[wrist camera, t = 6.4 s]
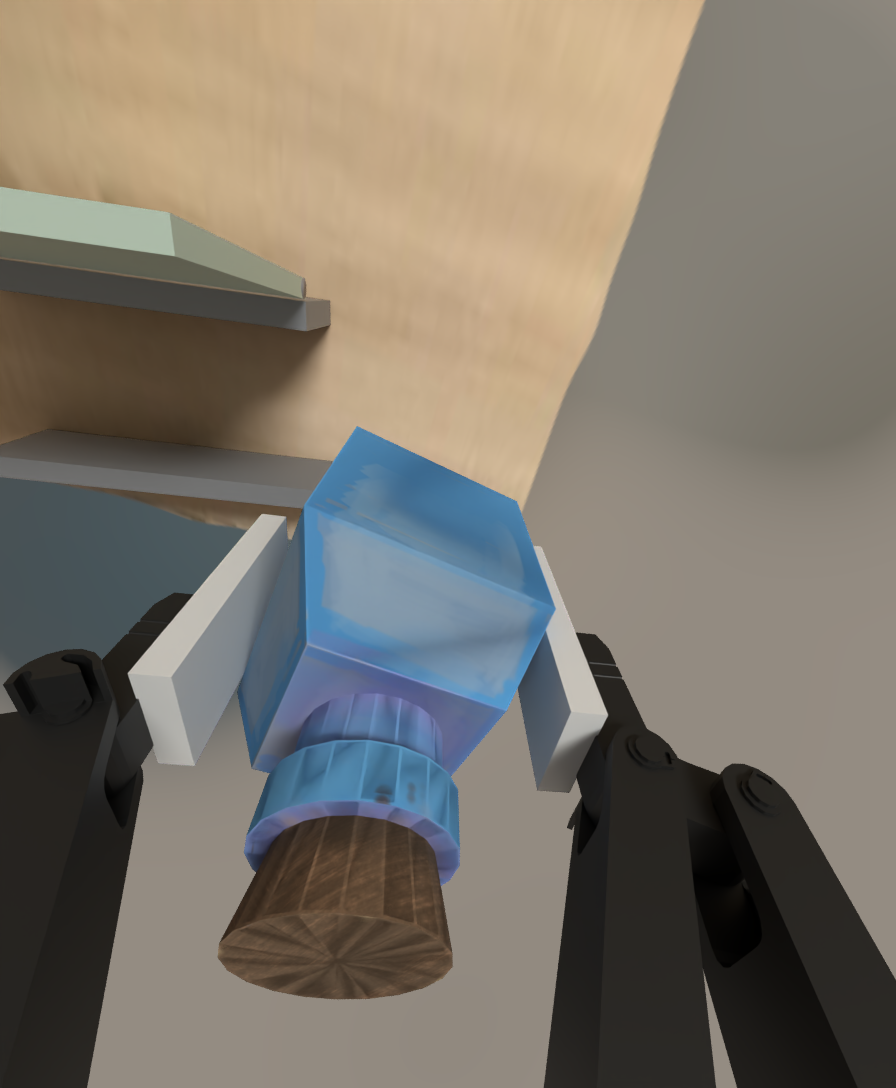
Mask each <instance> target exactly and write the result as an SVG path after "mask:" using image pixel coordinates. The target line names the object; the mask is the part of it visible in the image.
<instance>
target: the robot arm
mask: <svg viewBox="0 0 896 1088" xmlns="http://www.w3.org/2000/svg"><path fill="white" fill-rule="evenodd" d="M533 547H534V550H535V553H536V555H537V558H538V561H539V564H540V566H541V569H542V572H543V575H544V577H545V580H546V583H547V585H548V588H549V591H550V594H551V596H552V599H553V602H554V605H555V607H556V610H555V612H554V614H553V616H552V618H551V620H550V622H549V624H548V627H547V629H546V631H545V633H544V635H543V637H542V639H541V641H540V643H539V645H538V647H537V649H536V651H535V653H534V655H533V657H532V659H531V661H530V663H529V666H528V668H527V670H526V672H525V674H524V676H523V678H522V680H521V682H520V684H519V686H518V692H519V698H520V703H521V708H522V713H523V718H524V724H525V729H526V734H527V739H528V744H529V750H530V755H531V760H532V765H533V771H534V776H535V781H536V786H537V790H539V791H552V792H566V793H569V792H570V790H571V788H572V786H573V784H574V782H575V780H576V778H577V781H578V784H579V788H580V792H581V795H582V797H581V799H580V801H579V803H578V805H577V807H576V808H575V811H574V812H573V814H572V816H571V818H570V821H569V823H568V826H567V828H569V829H571V830H572V828H573V826H574V825H575V826H574V835H573V843H572V852H571V860H570V869H569V877H568V886H567V895H566V903H565V911H564V921H563V929H562V938H561V946H560V955H559V963H558V971H557V980H556V988H555V997H554V1006H553V1014H552V1022H551V1031H550V1039H549V1048H548V1057H547V1065H546V1075H545V1082H544V1088H716V1084H715V1075H714V1066H713V1057H712V1047H711V1039H710V1029H709V1020H708V1011H707V1002H706V993H705V984H704V974H705V977H706V981H707V984H708V988H709V991H710V995H711V998H712V1002H713V1005H714V1008H715V1012H716V1015H717V1019H718V1022H719V1026H720V1029H721V1033H722V1036H723V1040H724V1043H725V1047H726V1050H727V1054H728V1057H729V1060H730V1064H731V1068H732V1071H733V1074H734V1078H735V1081H736V1085H737V1088H896V980H895V978H894V976H893V975H892V973H891V971H890V969H889V967H888V966H887V964H886V962H885V960H884V959H883V957H882V955H881V953H880V951H879V950H878V948H877V946H876V944H875V943H874V941H873V939H872V937H871V936H870V934H869V932H868V931H867V929H866V927H865V925H864V924H863V922H862V920H861V919H860V916H859V915H858V913H857V911H856V909H855V908H854V906H853V904H852V902H851V901H850V899H849V897H848V895H847V894H846V892H845V890H844V888H843V887H842V885H841V883H840V881H839V880H838V878H837V876H836V874H835V873H834V871H833V869H832V867H831V866H830V864H829V862H828V861H827V859H826V857H825V855H824V853H823V852H822V850H821V848H820V846H819V845H818V843H817V841H816V839H815V838H814V836H813V834H812V833H811V831H810V829H809V827H808V825H807V824H806V822H805V820H804V819H803V817H802V815H801V813H800V811H799V810H798V808H797V806H796V804H795V803H794V801H793V800H792V799H791V797H790V796H789V795H788V793H787V792H786V791H785V789H783V788H782V787H781V786H780V785H779V784H778V783H777V782H776V781H775V780H773V779H772V778H771V777H770V776H768V775H766V774H765V773H763V772H762V771H760V770H758V769H756V768H754V767H751V766H748V765H745V764H731V765H729V766H727V767H726V768H725V769H724V770H723V771H722V772H721V774H720V775H719V774H717V773H714V772H711V771H709V770H706V769H703V768H701V767H698V766H695V765H693V764H690V763H687V762H685V761H683V760H681V759H679V758H677V756H676V754H675V753H674V751H673V750H672V748H671V747H670V745H669V744H668V743H666V742H665V741H664V740H663V739H662V738H661V737H660V736H658V735H657V734H655V733H653V732H651V731H649V730H648V729H647V728H646V726H645V724H644V722H643V720H642V718H641V716H640V714H639V711H638V709H637V707H636V705H635V703H634V701H633V699H632V697H631V695H630V692H629V690H628V688H627V686H626V684H625V682H624V680H622V676H621V673H620V671H619V669H618V667H616V663H615V661H614V659H613V657H612V654H611V652H610V650H609V648H607V646H606V645H605V644H604V643H603V642H602V641H601V640H600V639H599V638H598V637H597V636H596V635H595V634H585V633H575V630H574V628H573V626H572V623H571V620H570V618H569V616H568V613H567V610H566V608H565V605H564V603H563V600H562V598H561V595H560V593H559V590H558V587H557V585H556V583H555V580H554V578H553V575H552V572H551V570H550V567H549V565H548V562H547V560H546V557H545V555H544V552H543V550H542V547H537V546H533ZM287 552H288V538H287V520H286V517H285V516H276V515H268V514H261V515H260V517H259V518H258V519H257V520H256V521H255V522H254V524H253V525H252V526H251V527H250V528H249V530H248V531H247V532H246V533H245V534H244V536H243V537H242V538H241V539H240V540H239V542H238V543H237V544H236V545H235V547H233V549H232V550H231V551H230V552H229V554H228V555H227V556H226V557H225V558H224V559H223V561H222V562H221V563H220V564H219V565H218V566H217V568H216V569H215V570H214V571H213V572H212V574H211V575H210V576H209V577H208V578H207V580H206V581H205V582H204V583H203V584H202V586H201V587H200V588H199V589H198V590H197V591H196V593H195V594H194V595H193V594H183V593H173V594H171V595H170V596H168V597H166V598H164V599H163V600H161V601H159V602H158V603H156V604H154V605H153V606H152V607H151V609H149V611H148V612H147V613H146V614H145V615H144V616H143V617H142V618H141V621H140V622H137V623H136V624H135V625H134V626H133V628H132V629H131V630H130V631H129V634H126V635H125V636H124V637H123V638H122V639H121V640H120V642H118V643H117V644H116V646H115V647H114V648H113V649H112V650H111V651H110V652H109V653H108V654H107V655H106V656H105V657H104V658H103V660H101V658H99V656H98V655H97V654H96V653H94V652H91V651H87V650H83V649H73V650H63V651H59V652H54V653H50V654H47V655H44V656H42V657H40V658H37V659H35V660H33V661H31V662H29V663H27V664H25V665H24V666H23V667H21V668H20V669H18V670H17V671H15V672H14V673H13V674H12V675H11V676H10V677H9V678H8V679H7V681H6V682H5V683H4V684H3V686H4V687H5V689H6V691H7V693H8V695H9V696H10V698H11V700H12V701H13V704H14V705H15V707H16V709H17V712H11V713H5V714H0V1088H87V1085H88V1079H89V1074H90V1067H91V1062H92V1057H93V1052H94V1047H95V1041H96V1035H97V1029H98V1025H99V1019H100V1014H101V1008H102V1002H103V998H104V992H105V987H106V981H107V976H108V970H109V965H110V959H111V954H112V948H113V943H114V937H115V931H116V927H117V921H118V916H119V910H120V905H121V899H122V894H123V889H124V883H125V877H126V871H127V867H128V861H129V855H130V850H131V845H132V839H133V833H134V829H135V823H136V817H137V812H138V807H139V801H140V796H141V790H142V785H143V770H142V768H141V764H142V763H143V761H144V759H145V758H146V757H147V755H148V753H149V752H150V750H151V749H152V747H153V750H154V753H155V756H156V759H157V762H158V763H159V764H173V765H187V766H195V765H196V763H197V761H198V759H199V757H200V755H201V753H202V751H203V750H204V748H205V746H206V744H207V742H208V740H209V738H210V736H211V734H212V733H213V731H214V729H215V727H216V725H217V723H218V721H219V719H220V717H221V716H222V714H223V712H224V710H225V708H226V706H227V704H228V702H229V701H230V699H231V697H232V695H233V693H234V691H235V689H236V687H237V685H238V683H239V682H240V680H241V678H242V676H243V674H244V672H245V669H246V666H247V663H248V660H249V658H250V655H251V652H252V649H253V646H254V644H255V641H256V638H257V635H258V632H259V630H260V627H261V624H262V621H263V619H264V616H265V613H266V610H267V607H268V605H269V602H270V599H271V596H272V593H273V591H274V588H275V585H276V582H277V580H278V577H279V574H280V571H281V568H282V566H283V563H284V560H285V557H286V554H287ZM703 970H704V974H703Z"/></svg>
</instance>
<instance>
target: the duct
mask: <svg viewBox="0 0 896 1088" xmlns="http://www.w3.org/2000/svg"><path fill="white" fill-rule="evenodd" d="M0 290H4V291H11V292H19V293H26V294H34V295H41V296H49V297H56V298H63V299H71V300H78V301H86V302H93V303H101V304H108V305H115V306H123V307H130V308H138V309H145V310H153V311H160V312H168V313H175V314H182V315H190V316H197V317H205V318H212V319H220V320H227V321H234V322H242V323H249V324H257V325H264V326H272V327H279V328H287V329H294V330H301V331H310V330H313V329H317V328H321V327H325V326H329V325H330V300H323V299H315V298H308V297H305V299H299V298H291V297H284V296H277V295H270V294H263V293H256V292H249V291H241V290H234V289H227V288H220V287H213V286H206V285H198V284H191V283H184V282H177V281H170V280H163V279H156V278H148V277H141V276H134V275H127V274H120V273H113V272H105V271H98V270H91V269H84V268H77V267H70V266H63V265H55V264H48V263H41V262H34V261H27V260H20V259H12V258H5V257H0ZM331 464H332V461H325V460H316V459H307V458H298V457H290V456H281V455H272V454H263V453H254V452H245V451H236V450H228V449H219V448H210V447H201V446H192V445H183V444H174V443H166V442H157V441H148V440H139V439H130V438H121V437H112V436H103V435H95V434H86V433H77V432H68V431H59V430H50V429H47V430H44V431H41V432H38V433H35V434H32V435H29V436H26V437H23V438H20V439H17V440H14V441H11V442H8V443H5V444H2V445H0V477H6V478H15V479H25V480H34V481H43V482H53V483H63V484H72V485H82V486H91V487H101V488H111V489H120V490H130V491H139V492H149V493H159V494H168V495H178V496H187V497H197V498H206V499H216V500H226V501H235V502H245V503H254V504H264V505H274V506H283V507H293V508H302V509H303V507H304V505H305V503H306V502H307V500H308V499H309V497H310V496H311V494H312V493H313V491H314V490H315V488H316V487H317V485H318V484H319V482H320V481H321V479H322V478H323V476H324V475H325V473H326V472H327V470H328V469H329V467H330V466H331Z"/></svg>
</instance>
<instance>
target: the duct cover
mask: <svg viewBox="0 0 896 1088" xmlns="http://www.w3.org/2000/svg"><path fill="white" fill-rule="evenodd" d="M0 257H5V258H12V259H20V260H27V261H34V262H41V263H48V264H55V265H63V266H70V267H77V268H84V269H91V270H98V271H105V272H113V273H120V274H127V275H134V276H141V277H148V278H156V279H163V280H170V281H177V282H184V283H191V284H198V285H206V286H213V287H220V288H227V289H234V290H241V291H249V292H256V293H263V294H270V295H277V296H284V297H291V298H299V299H305V297H306V282H305V278H303V277H301V276H299V275H297V274H295V273H293V272H290V271H288V270H286V269H284V268H282V267H280V266H278V265H276V264H274V263H272V262H270V261H268V260H266V259H264V258H262V257H260V256H258V255H256V254H254V253H251V252H249V251H247V250H245V249H243V248H241V247H239V246H237V245H235V244H233V243H231V242H229V241H227V240H225V239H223V238H221V237H219V236H217V235H215V234H213V233H210V232H208V231H206V230H204V229H202V228H200V227H198V226H196V225H194V224H192V223H190V222H188V221H186V220H184V219H182V218H180V217H178V216H176V215H174V214H171V213H169V212H163V211H156V210H150V209H143V208H136V207H130V206H123V205H117V204H110V203H103V202H97V201H90V200H83V199H77V198H70V197H64V196H57V195H50V194H44V193H37V192H30V191H24V190H17V189H11V188H4V187H0Z"/></svg>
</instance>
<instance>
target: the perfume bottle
mask: <svg viewBox="0 0 896 1088" xmlns="http://www.w3.org/2000/svg"><path fill="white" fill-rule="evenodd" d="M555 610H556V607H555V605H554V602H553V599H552V596H551V594H550V591H549V588H548V585H547V583H546V580H545V577H544V575H543V572H542V569H541V566H540V564H539V561H538V558H537V555H536V553H535V550H534V547H533V544H532V542H531V539H530V536H529V533H528V531H527V528H526V525H525V522H524V520H523V517H522V514H521V511H520V509H519V506H518V503H517V501H515V500H513V499H511V498H508V497H506V496H504V495H502V494H500V493H498V492H496V491H494V490H491V489H489V488H487V487H485V486H483V485H481V484H479V483H477V482H474V481H472V480H470V479H468V478H466V477H464V476H462V475H460V474H457V473H455V472H453V471H451V470H449V469H447V468H445V467H443V466H440V465H438V464H436V463H434V462H432V461H430V460H428V459H426V458H423V457H421V456H419V455H417V454H415V453H413V452H411V451H409V450H406V449H404V448H402V447H400V446H398V445H396V444H394V443H392V442H390V441H387V440H385V439H383V438H381V437H379V436H377V435H375V434H373V433H370V432H368V431H366V430H364V429H362V428H360V427H358V426H357V427H356V429H355V430H354V432H353V433H352V435H351V436H350V438H349V439H348V441H347V442H346V444H345V445H344V447H343V448H342V450H341V451H340V453H339V454H338V456H337V457H336V459H335V460H334V461H333V463H332V464H331V466H330V467H329V469H328V470H327V472H326V473H325V475H324V476H323V478H322V479H321V481H320V482H319V484H318V485H317V487H316V488H315V490H314V491H313V493H312V494H311V496H310V497H309V499H308V500H307V502H306V503H305V505H304V507H303V510H302V513H301V515H300V518H299V521H298V524H297V527H296V529H295V532H294V535H293V538H292V540H291V543H290V546H289V549H288V552H287V554H286V557H285V560H284V563H283V566H282V568H281V571H280V574H279V577H278V580H277V582H276V585H275V588H274V591H273V593H272V596H271V599H270V602H269V605H268V607H267V610H266V613H265V616H264V619H263V621H262V624H261V627H260V630H259V632H258V635H257V638H256V641H255V644H254V646H253V649H252V652H251V655H250V658H249V660H248V663H247V666H246V669H245V672H244V674H243V677H242V680H241V683H240V685H239V688H238V691H237V693H238V699H239V704H240V709H241V714H242V719H243V725H244V730H245V735H246V741H247V746H248V751H249V756H250V762H251V767H252V769H255V770H259V771H263V772H267V773H270V774H269V776H268V778H267V781H266V784H265V787H264V789H263V792H262V795H261V797H260V800H259V803H258V806H257V808H256V811H255V814H254V817H253V819H252V822H251V825H250V828H249V830H248V833H247V836H246V843H245V850H244V854H245V856H246V857H247V860H248V862H249V864H250V866H251V867H252V869H253V870H254V871H255V872H256V874H255V876H254V878H253V880H252V882H251V884H250V886H249V888H248V889H247V892H246V893H245V895H244V897H243V899H242V901H241V903H240V905H239V907H238V909H237V911H236V913H235V915H234V916H233V918H232V920H231V922H230V924H229V926H228V928H227V930H226V931H225V933H224V935H223V937H222V939H221V941H220V943H219V950H218V959H219V960H220V961H221V962H222V964H223V965H224V966H225V968H226V969H227V970H228V971H229V972H231V973H233V974H234V975H236V976H238V977H240V978H241V979H243V980H245V981H246V982H249V983H252V984H255V985H258V986H261V987H264V988H267V989H270V990H272V991H277V992H282V993H287V994H293V995H298V996H303V997H315V998H326V999H370V998H378V997H385V996H394V995H400V994H403V993H407V992H411V991H414V990H418V989H422V988H424V987H426V986H428V985H430V984H432V983H434V982H436V981H438V980H440V979H442V978H443V977H444V976H445V975H446V974H447V972H448V971H449V970H450V969H451V968H452V948H451V943H450V937H449V931H448V925H447V919H446V913H445V908H444V902H443V896H442V890H441V886H442V885H443V884H445V883H446V882H448V881H449V880H450V879H451V878H452V876H453V874H454V873H455V872H456V870H457V869H458V867H459V865H460V842H459V808H458V789H457V787H456V785H455V784H454V782H453V780H452V778H451V776H452V775H453V773H454V772H455V771H456V770H457V769H458V768H459V766H460V765H461V764H462V762H464V760H465V759H466V758H467V757H468V756H469V754H470V753H471V752H472V751H473V750H474V749H475V747H476V746H477V745H478V744H479V743H480V742H481V740H482V739H483V738H484V737H485V735H486V734H487V733H488V732H489V731H490V730H491V729H492V727H493V726H494V725H495V724H496V722H497V721H498V720H499V719H500V718H501V717H502V716H503V714H504V713H505V712H506V710H507V709H508V706H509V705H510V702H511V700H512V698H513V696H514V694H515V692H516V690H517V688H518V686H519V684H520V682H521V680H522V678H523V676H524V674H525V672H526V670H527V668H528V666H529V663H530V661H531V659H532V657H533V655H534V653H535V651H536V649H537V647H538V645H539V643H540V641H541V639H542V637H543V635H544V633H545V631H546V629H547V627H548V624H549V622H550V620H551V618H552V616H553V614H554V612H555Z"/></svg>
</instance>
